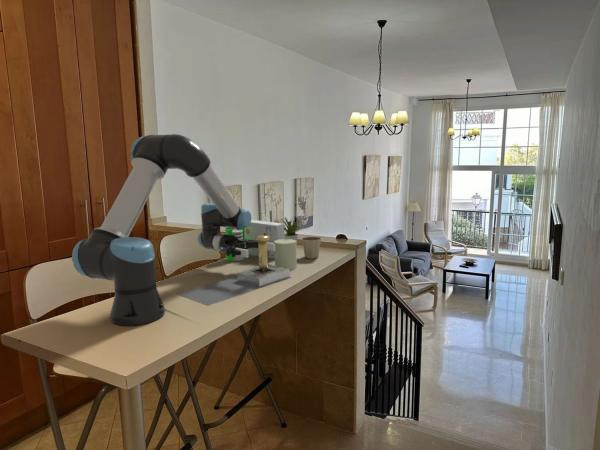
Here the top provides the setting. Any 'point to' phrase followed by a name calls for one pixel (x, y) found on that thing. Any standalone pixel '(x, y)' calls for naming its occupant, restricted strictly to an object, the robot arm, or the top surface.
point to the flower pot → (311, 246)
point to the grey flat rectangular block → (263, 275)
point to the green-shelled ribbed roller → (241, 236)
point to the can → (285, 253)
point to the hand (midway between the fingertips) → (261, 250)
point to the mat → (220, 291)
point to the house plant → (291, 229)
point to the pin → (263, 252)
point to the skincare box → (264, 228)
